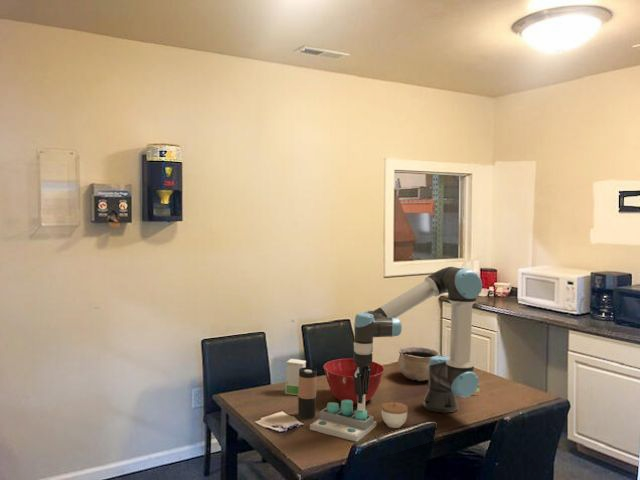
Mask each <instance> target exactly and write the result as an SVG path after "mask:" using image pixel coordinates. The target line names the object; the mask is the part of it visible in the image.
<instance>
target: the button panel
mask: <svg viewBox="0 0 640 480" xmlns="http://www.w3.org/2000/svg"><path fill="white" fill-rule="evenodd" d="M376 427H377V420H375V416H374V415H370V414H367V420H365V421H362V420H358V419H355V411H353V414H352V415H350V416H344V415H342V414H341V407H339V411H338V413H337V414H333V413H329V412H327V406H326V407H324V408H323V409H321V410H320V411H319V418H318V419H317V420H315V421H313V422H311V423H310V424H309V430H310V431H315V432H318V433H322V434H325V435H329V436H334V437H337V438H341V439H343V440H348V441H352V442H355V443H358V442H359V441H360V440H362V438H365V436H366V435H367V434H369V433H370V432H371V431H372V430H373V429H375V428H376Z"/></svg>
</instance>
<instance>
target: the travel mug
mask: <svg viewBox="0 0 640 480" xmlns="http://www.w3.org/2000/svg"><path fill="white" fill-rule="evenodd" d="M317 373H318V370H317V369H316V368H314V367H310V366H309V367H304V368H300V369H299V391H298V395H297V397H298V398H297V400H298V403H297V404H298V407H297V409H298V411H297V413H298V418H300V419H303V420H312V419H314V418H315V417H316V407H317V406H316V404H317V382H318V381H317V376H318V375H317Z"/></svg>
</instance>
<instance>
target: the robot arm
mask: <svg viewBox="0 0 640 480" xmlns="http://www.w3.org/2000/svg"><path fill="white" fill-rule="evenodd" d="M482 289H483V283H482V279H481V277H480V275H479V274H478V273H477V272H475V271H474V270H470V269H469V268H462V267H456V266H447V267H444V268H441V269H439V270H437V271H435V272H433V273H431V274H430V275H428V276H426V277H425V278H424V281H422V282H421V283H419V284H417V285H415V286H414V287H411V288H410V289H408V290H407V291H405V292H403V293H401V294H400V295H398V296H397V297H395V298H393V299H391V300H389V301H388V302H387V303H385V304H383V305H381V306H380V307H378V308H376V309H374V310H366V311H365V312H360V313H357V314H356V315H355V316H354V324H353V327H354V330H353V331H354V336H353V338H354V341H353V344H352V345H353V358H352V359H353V361H354V362H355V363H356V364H357V366H356V372H355V373H354V372H353V377H354V386H355V394H357V395H358V404H356V406H357V408H356V409H357V410H359V411H363V412H364V411H365V410H366V402H365V394H368V392H366V391H368V388H369V380H370V373H371V369H372V367H370V366H369V364H370V363H372V361H373V352H374V350H373V349H374V344H373V343H374V338H388V337H389V338H393V337H398V336H400V335H401V334H402V330H403V329H402V327H403V326H402V322H401V320H400V319H399V317H401V316H402V315H403V314H405V313H407V312H408V311H411V310H412V309H414V308H415V307H417V306H418V305H421V304H422V303H424V302H426V301H427V300H429V299H430V298H432V297H435V298H436V297H439V296H440V295H442V294H447V301H448V302H450V304H451V307H450V308H451V310H450V311H451V312H450V314H451V315H450V341H449V356H441V355H440V356H437V357H432V358H430V360H429V378H428V380H427V381H428V382H427V385H428V387H427V391H426V393H425V397H424V399H423V407H424V408H425V409H426V410H427V411H431V412H433V411H435V412H434V413H437V412H451V411H455V410H456V409H457V408H459V404H458V399H457V397H460V398H463V399H464V398H469V397H472V396H471V395H472V394H473V393H474V392H475V391H476V390H477V388H478V385H479V384H480V382H479V377H478V375H477V374H476V373H475V371H474V368H475V365H474V363H473V362H472V360H471V355H472V354H471V352H472V327H473V326H472V324H473V323H472V321H473V320H472V319H473V305H474V304H475V303H476V302H477V298H478V297H479V296H480V294H481V293H482ZM457 410H458V409H457ZM455 412H456V411H455Z"/></svg>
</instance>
